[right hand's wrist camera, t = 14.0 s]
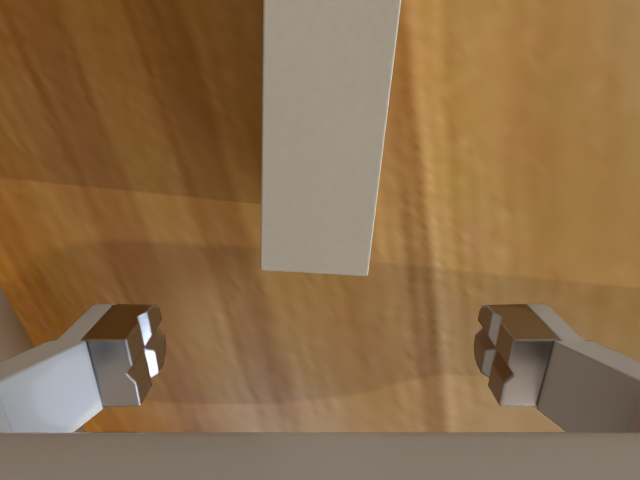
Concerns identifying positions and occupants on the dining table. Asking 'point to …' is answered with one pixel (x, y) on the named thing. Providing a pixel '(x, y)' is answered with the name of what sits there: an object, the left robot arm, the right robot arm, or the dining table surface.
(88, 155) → the dining table surface
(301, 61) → the box
